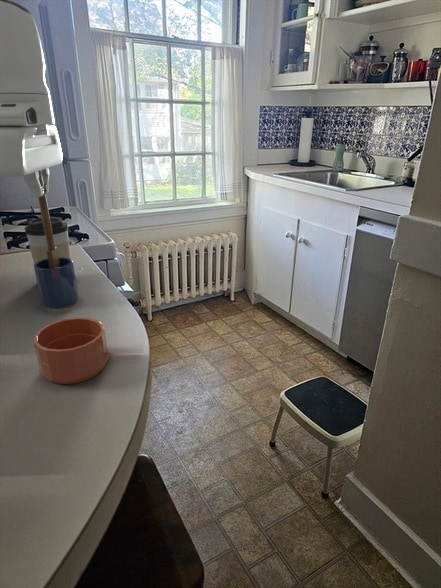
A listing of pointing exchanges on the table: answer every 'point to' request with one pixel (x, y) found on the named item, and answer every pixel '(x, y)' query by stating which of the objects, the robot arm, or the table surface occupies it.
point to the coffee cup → (39, 240)
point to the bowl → (71, 350)
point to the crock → (56, 283)
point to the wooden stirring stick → (48, 228)
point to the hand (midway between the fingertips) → (41, 195)
